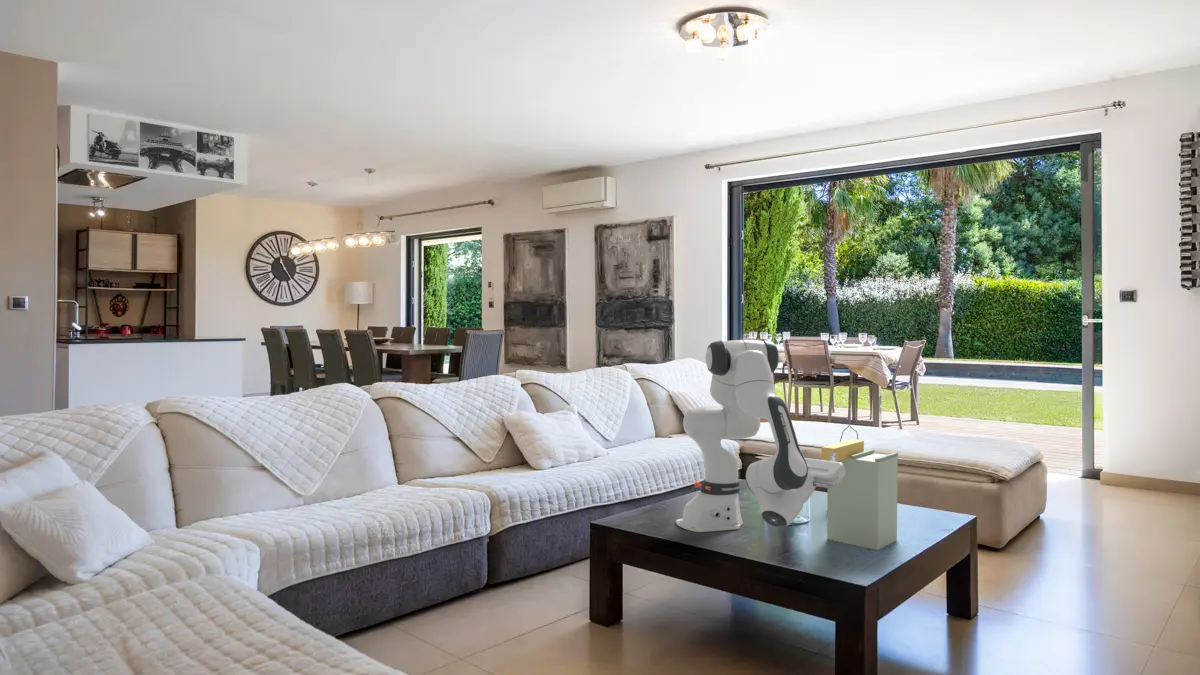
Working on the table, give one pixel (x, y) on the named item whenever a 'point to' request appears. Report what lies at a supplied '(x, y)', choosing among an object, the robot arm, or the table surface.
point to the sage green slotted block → (865, 501)
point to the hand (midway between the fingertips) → (819, 453)
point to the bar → (843, 449)
